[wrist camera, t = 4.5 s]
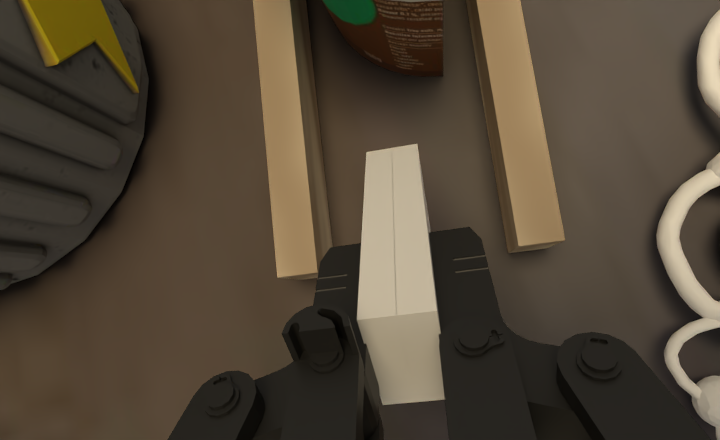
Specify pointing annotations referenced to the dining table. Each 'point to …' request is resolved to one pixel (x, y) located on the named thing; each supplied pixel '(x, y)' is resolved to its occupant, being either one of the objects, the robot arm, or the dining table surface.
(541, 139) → the birch chute
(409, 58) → the food container
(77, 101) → the decorative lamp
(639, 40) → the dining table surface
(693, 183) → the tangled rod sculpture
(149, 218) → the dining table surface
